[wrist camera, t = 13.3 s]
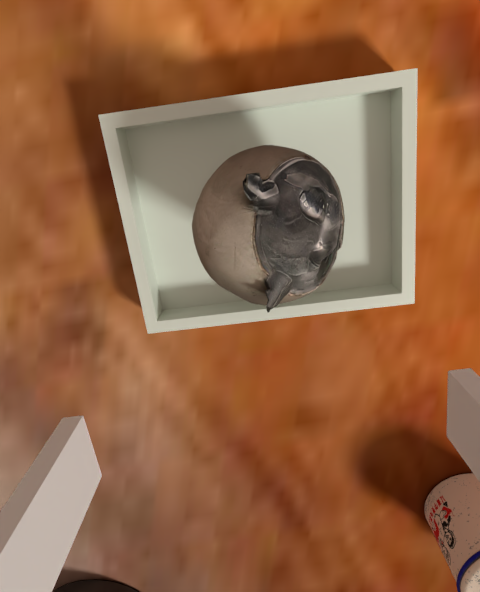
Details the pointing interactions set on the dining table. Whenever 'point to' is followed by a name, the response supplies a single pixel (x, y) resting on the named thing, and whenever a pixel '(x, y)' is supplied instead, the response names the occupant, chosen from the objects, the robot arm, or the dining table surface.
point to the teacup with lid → (458, 527)
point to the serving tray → (280, 132)
